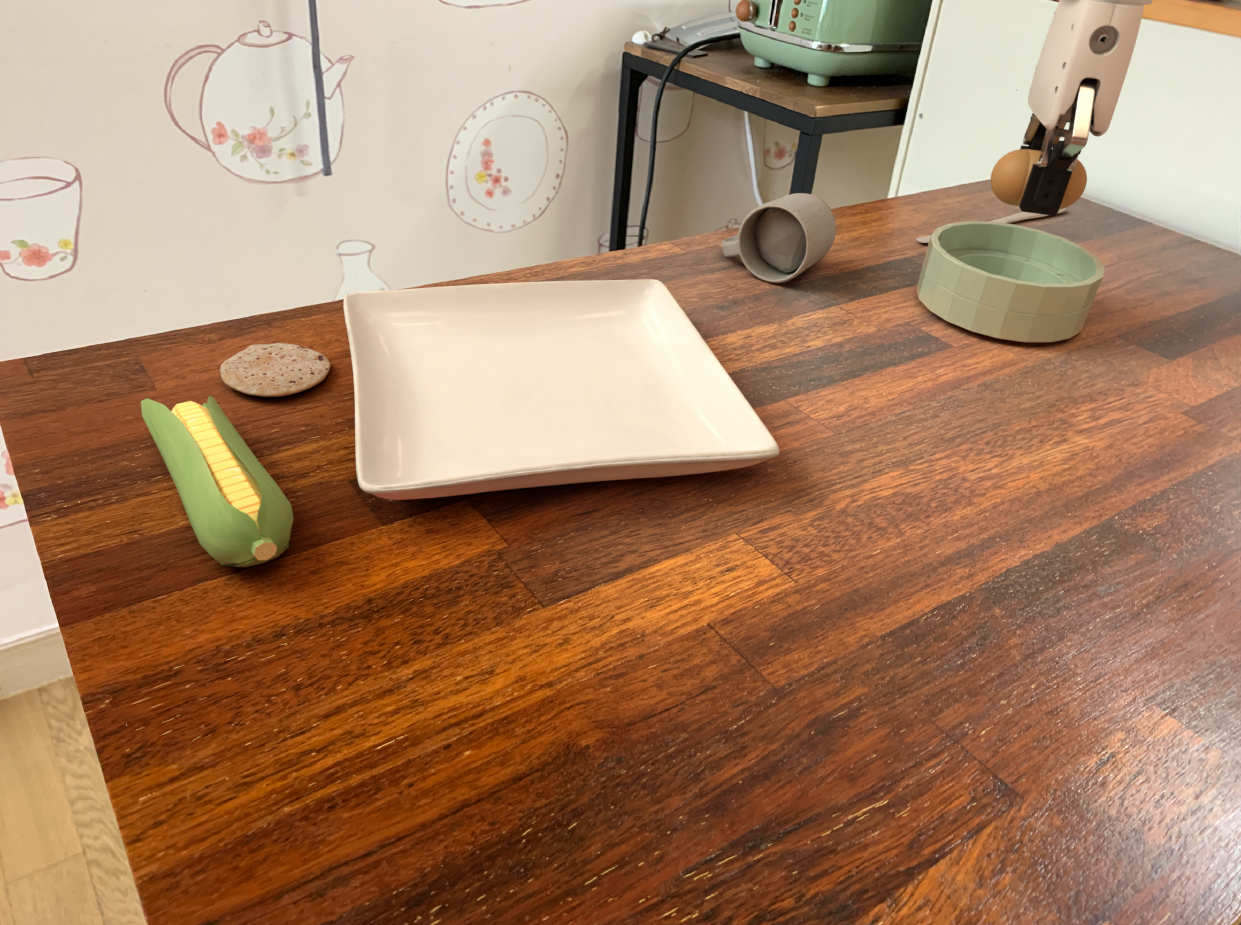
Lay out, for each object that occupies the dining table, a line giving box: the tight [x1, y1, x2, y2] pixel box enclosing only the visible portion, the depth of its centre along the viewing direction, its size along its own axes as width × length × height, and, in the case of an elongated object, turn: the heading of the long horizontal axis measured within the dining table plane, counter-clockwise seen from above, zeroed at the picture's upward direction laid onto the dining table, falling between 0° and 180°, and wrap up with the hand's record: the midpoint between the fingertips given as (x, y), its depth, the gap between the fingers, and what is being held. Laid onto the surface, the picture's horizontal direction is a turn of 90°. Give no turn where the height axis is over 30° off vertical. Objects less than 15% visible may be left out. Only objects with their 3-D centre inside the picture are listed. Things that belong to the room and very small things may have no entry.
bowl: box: [915, 220, 1106, 343], centre depth 88 cm, size 15×15×6 cm
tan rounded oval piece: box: [990, 148, 1088, 210], centre depth 82 cm, size 8×5×5 cm, turn 80°
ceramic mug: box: [721, 192, 837, 284], centre depth 92 cm, size 11×8×8 cm
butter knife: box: [914, 207, 1068, 244], centre depth 109 cm, size 1×27×3 cm
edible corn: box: [140, 395, 294, 568], centre depth 57 cm, size 5×20×5 cm, turn 35°
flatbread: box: [219, 342, 332, 398], centre depth 70 cm, size 8×8×1 cm
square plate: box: [342, 278, 781, 501], centre depth 69 cm, size 27×27×4 cm
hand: (1031, 200), depth 83 cm, fingers closed on tan rounded oval piece, 4 cm apart
